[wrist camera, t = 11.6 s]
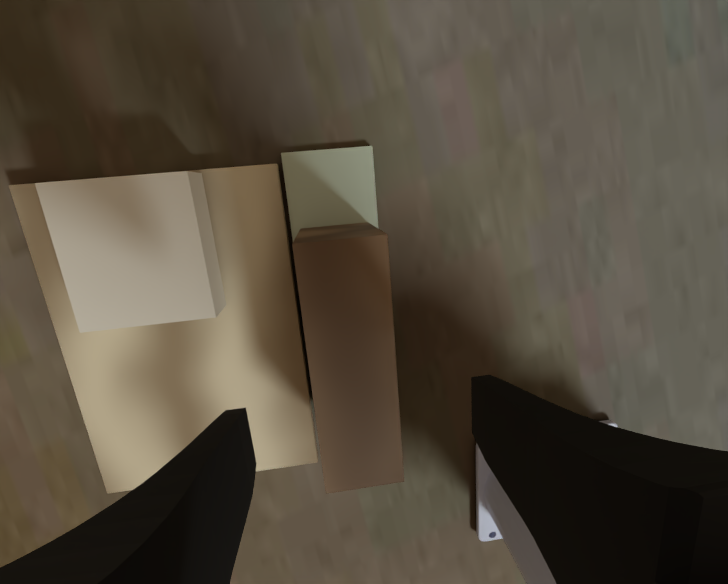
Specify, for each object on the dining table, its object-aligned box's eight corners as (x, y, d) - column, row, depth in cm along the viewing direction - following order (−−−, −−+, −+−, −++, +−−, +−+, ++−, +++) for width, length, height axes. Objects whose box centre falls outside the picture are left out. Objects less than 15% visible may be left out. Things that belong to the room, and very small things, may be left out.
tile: (227, 304, 20) (202, 173, 18) (216, 317, 18) (187, 170, 16) (105, 317, 19) (68, 184, 17) (79, 332, 17) (34, 183, 15)
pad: (371, 146, 19) (372, 145, 19) (389, 392, 23) (390, 396, 23) (281, 153, 19) (280, 152, 18) (315, 402, 23) (315, 406, 22)
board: (278, 164, 19) (276, 163, 18) (317, 453, 23) (317, 462, 23) (21, 185, 18) (8, 185, 17) (114, 483, 22) (107, 493, 22)
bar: (368, 222, 20) (387, 234, 14) (383, 407, 23) (404, 481, 17) (300, 228, 19) (292, 244, 14) (324, 416, 22) (325, 493, 17)
